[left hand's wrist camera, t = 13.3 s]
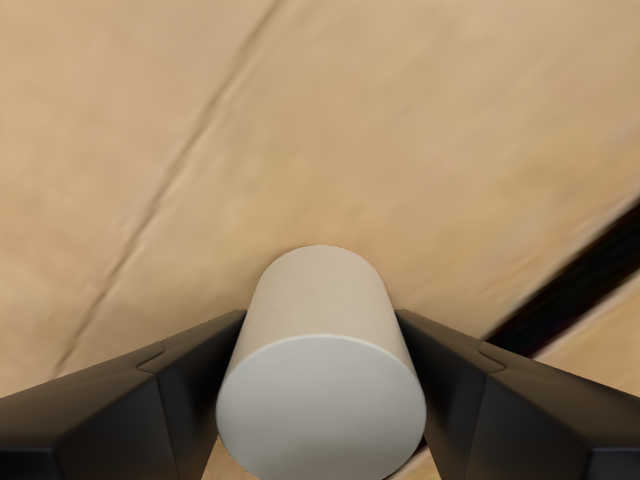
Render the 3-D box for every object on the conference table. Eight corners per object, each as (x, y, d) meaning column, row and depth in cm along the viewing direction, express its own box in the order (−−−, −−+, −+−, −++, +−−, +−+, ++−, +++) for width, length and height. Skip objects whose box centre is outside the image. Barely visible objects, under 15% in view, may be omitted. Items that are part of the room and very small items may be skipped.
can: (379, 233, 12) (419, 318, 7) (393, 350, 13) (433, 482, 9) (239, 256, 12) (185, 353, 7) (270, 367, 13) (244, 505, 9)
